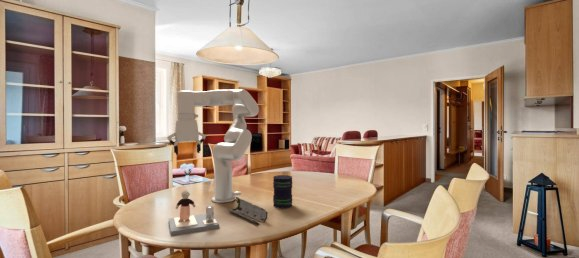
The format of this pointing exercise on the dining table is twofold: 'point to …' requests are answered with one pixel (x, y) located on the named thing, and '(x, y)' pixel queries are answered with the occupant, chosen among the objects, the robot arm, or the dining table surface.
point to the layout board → (191, 224)
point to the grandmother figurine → (185, 206)
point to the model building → (250, 211)
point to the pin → (209, 214)
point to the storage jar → (282, 191)
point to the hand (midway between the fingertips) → (187, 153)
